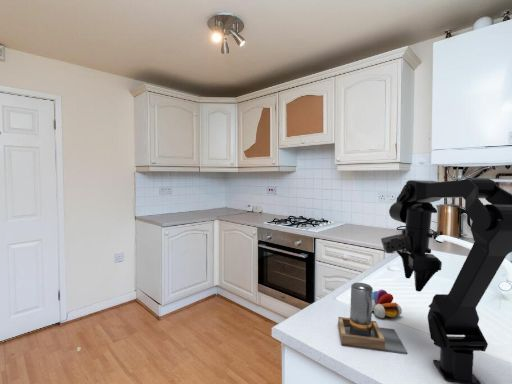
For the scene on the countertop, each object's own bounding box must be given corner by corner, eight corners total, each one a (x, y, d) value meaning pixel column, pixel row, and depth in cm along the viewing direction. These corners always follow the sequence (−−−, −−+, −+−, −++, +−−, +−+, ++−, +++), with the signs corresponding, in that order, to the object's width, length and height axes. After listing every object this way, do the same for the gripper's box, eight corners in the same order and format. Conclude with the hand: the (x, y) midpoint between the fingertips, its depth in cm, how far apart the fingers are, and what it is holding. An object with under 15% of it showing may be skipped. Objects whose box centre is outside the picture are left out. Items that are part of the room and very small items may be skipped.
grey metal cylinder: (374, 342, 71) (376, 290, 70) (352, 341, 71) (354, 289, 70) (366, 330, 76) (368, 282, 75) (346, 329, 76) (348, 281, 76)
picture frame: (407, 354, 67) (407, 343, 67) (341, 345, 70) (341, 335, 70) (394, 330, 77) (394, 321, 77) (337, 323, 80) (338, 315, 80)
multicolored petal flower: (382, 322, 82) (383, 298, 82) (361, 308, 91) (362, 286, 91) (405, 319, 84) (406, 295, 84) (383, 305, 94) (384, 284, 93)
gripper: (378, 219, 86) (374, 269, 87) (393, 231, 67) (388, 294, 69) (418, 222, 83) (414, 273, 84) (445, 236, 65) (439, 301, 66)
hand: (412, 284), depth 76 cm, fingers open, 9 cm apart
